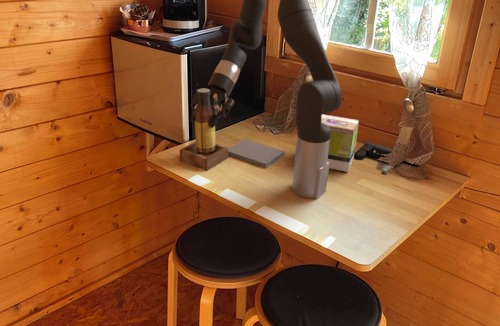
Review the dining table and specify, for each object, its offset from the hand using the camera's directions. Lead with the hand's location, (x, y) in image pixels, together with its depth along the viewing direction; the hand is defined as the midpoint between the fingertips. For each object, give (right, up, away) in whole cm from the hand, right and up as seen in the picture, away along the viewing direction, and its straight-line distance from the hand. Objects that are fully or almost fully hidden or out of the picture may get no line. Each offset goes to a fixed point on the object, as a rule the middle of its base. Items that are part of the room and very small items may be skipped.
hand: (201, 123), depth 150 cm
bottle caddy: (0, -11, +7) cm, 13 cm away
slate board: (+17, -9, +12) cm, 23 cm away
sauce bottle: (+1, -8, +6) cm, 10 cm away
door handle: (+60, -12, +12) cm, 62 cm away
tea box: (+41, -12, +10) cm, 44 cm away
